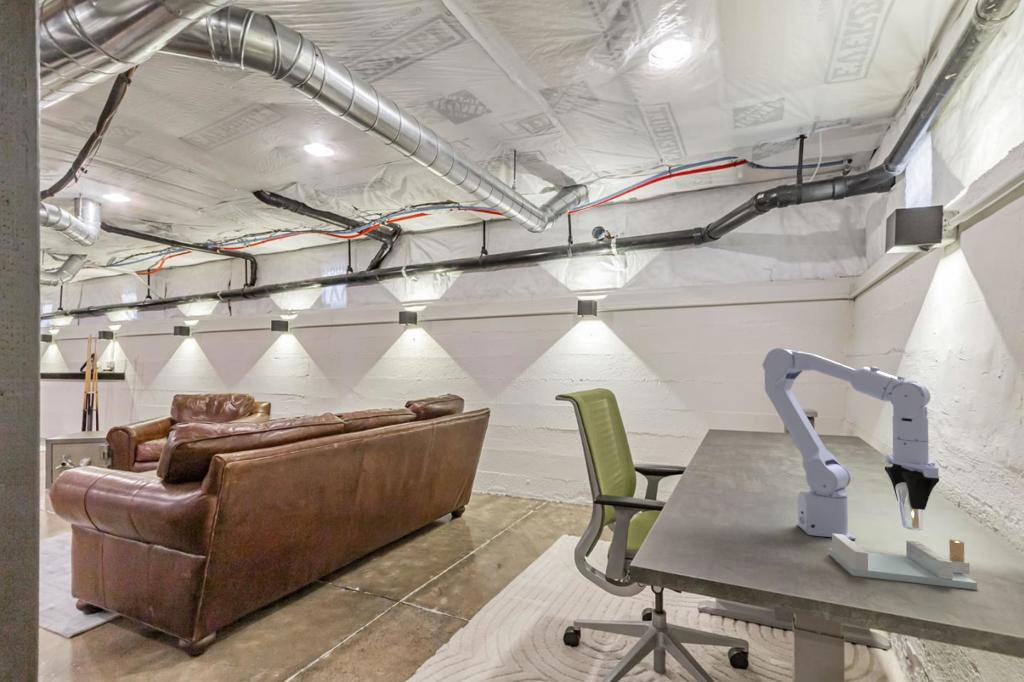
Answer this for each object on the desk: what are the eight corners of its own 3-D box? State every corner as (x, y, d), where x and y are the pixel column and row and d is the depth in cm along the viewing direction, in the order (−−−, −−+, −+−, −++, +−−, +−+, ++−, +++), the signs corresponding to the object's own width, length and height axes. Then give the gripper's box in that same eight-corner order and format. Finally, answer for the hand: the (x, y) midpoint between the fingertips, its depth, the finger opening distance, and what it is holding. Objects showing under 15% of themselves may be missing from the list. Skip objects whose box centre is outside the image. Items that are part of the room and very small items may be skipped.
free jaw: (939, 578, 84) (939, 547, 84) (906, 556, 93) (906, 529, 94) (983, 583, 82) (983, 552, 82) (945, 560, 92) (945, 532, 92)
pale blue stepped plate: (852, 575, 87) (852, 551, 87) (829, 554, 96) (829, 533, 96) (976, 589, 82) (976, 564, 82) (939, 566, 92) (939, 543, 92)
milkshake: (927, 533, 94) (922, 482, 95) (894, 527, 99) (890, 478, 100) (936, 529, 97) (931, 479, 97) (903, 523, 101) (899, 475, 102)
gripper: (956, 446, 91) (957, 518, 91) (911, 435, 105) (912, 497, 105) (914, 443, 93) (914, 514, 92) (875, 433, 107) (875, 494, 106)
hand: (910, 505), depth 98 cm, fingers closed on milkshake, 4 cm apart
